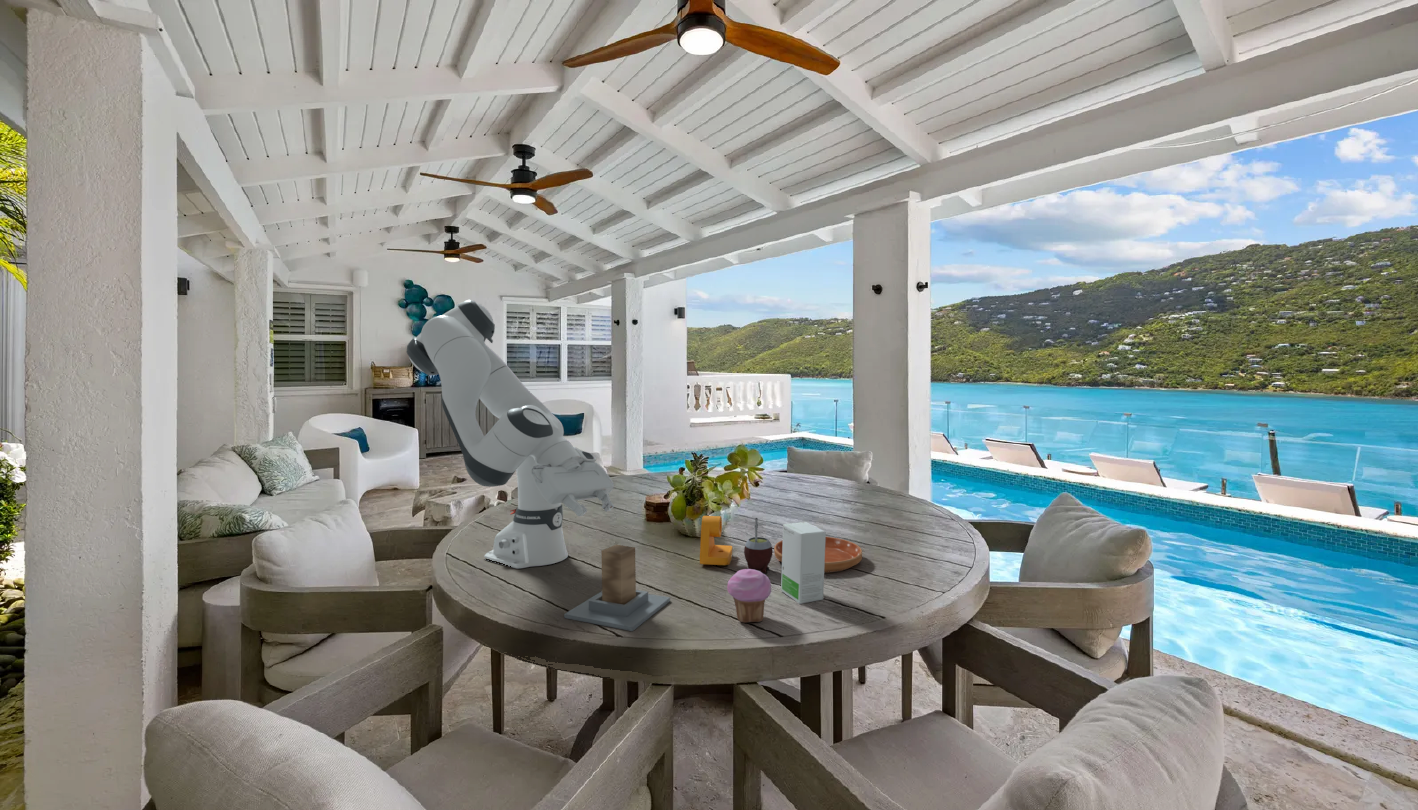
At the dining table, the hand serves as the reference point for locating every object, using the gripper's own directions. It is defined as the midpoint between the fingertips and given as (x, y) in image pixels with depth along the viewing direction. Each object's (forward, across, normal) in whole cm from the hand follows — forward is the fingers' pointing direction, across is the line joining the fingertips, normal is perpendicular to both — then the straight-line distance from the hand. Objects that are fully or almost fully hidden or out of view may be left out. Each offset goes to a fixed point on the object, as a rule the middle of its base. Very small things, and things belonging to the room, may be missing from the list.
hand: (597, 511), depth 122 cm
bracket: (+19, +40, +5) cm, 44 cm away
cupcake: (+37, +10, -7) cm, 39 cm away
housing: (+17, +2, +12) cm, 21 cm away
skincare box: (+40, +26, -12) cm, 49 cm away
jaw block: (+17, +2, +11) cm, 20 cm away
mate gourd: (+29, +36, -3) cm, 46 cm away
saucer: (+36, +51, -12) cm, 63 cm away
